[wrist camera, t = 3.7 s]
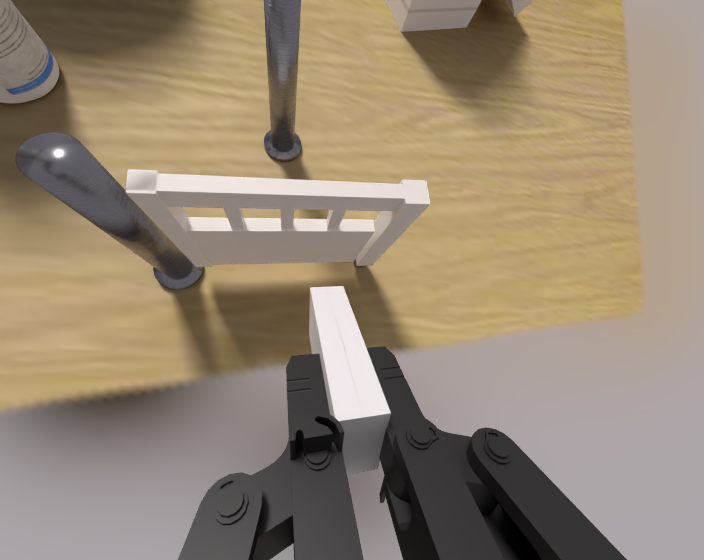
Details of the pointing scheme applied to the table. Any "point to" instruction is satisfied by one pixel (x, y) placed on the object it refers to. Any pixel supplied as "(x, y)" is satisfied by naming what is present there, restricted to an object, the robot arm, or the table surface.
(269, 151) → the latch post
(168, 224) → the gate
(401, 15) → the pizza boxes
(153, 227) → the hinge post
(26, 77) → the supplement tub
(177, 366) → the table surface
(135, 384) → the table surface
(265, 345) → the table surface
